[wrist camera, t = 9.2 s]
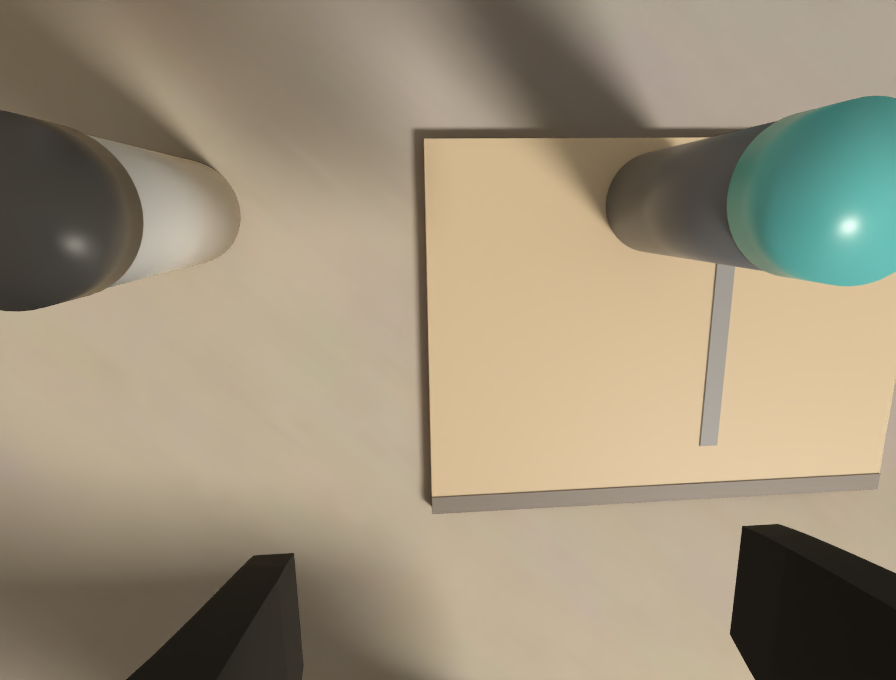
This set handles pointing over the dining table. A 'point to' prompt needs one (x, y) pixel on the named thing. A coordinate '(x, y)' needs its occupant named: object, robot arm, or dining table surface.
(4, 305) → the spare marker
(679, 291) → the notepad
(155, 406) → the dining table surface
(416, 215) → the dining table surface
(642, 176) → the cylinder
